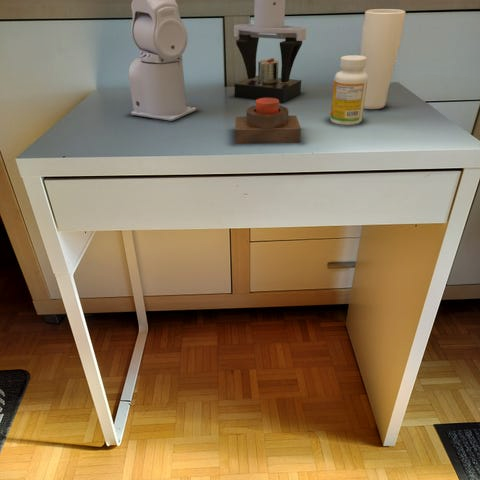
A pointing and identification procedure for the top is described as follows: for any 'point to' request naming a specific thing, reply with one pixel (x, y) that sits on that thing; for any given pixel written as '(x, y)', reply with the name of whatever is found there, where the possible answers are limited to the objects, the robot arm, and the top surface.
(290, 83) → the dial panel
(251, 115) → the button block
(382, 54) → the tall cream tumbler
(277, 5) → the robot arm
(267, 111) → the button
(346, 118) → the supplement bottle
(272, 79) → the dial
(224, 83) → the top surface
